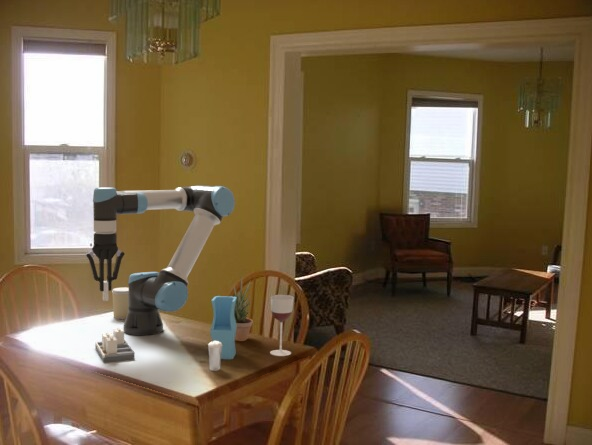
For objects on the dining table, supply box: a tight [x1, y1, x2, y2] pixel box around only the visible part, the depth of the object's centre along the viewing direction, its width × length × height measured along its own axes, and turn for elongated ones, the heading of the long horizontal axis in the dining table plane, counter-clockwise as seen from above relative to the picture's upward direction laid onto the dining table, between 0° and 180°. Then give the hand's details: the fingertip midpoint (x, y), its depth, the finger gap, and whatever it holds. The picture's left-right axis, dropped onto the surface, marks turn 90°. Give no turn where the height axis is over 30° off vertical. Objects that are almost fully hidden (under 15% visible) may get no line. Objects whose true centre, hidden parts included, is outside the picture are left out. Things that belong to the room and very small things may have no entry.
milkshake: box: [205, 339, 222, 372], centre depth 199 cm, size 5×5×10 cm
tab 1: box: [101, 332, 113, 350], centre depth 211 cm, size 3×4×5 cm
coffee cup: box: [111, 286, 129, 320], centre depth 265 cm, size 9×9×12 cm
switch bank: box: [94, 339, 135, 363], centre depth 213 cm, size 10×17×2 cm, turn 26°
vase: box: [209, 295, 237, 360], centre depth 214 cm, size 8×8×20 cm
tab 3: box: [112, 327, 125, 344], centre depth 218 cm, size 3×4×5 cm
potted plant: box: [230, 276, 254, 342], centre depth 236 cm, size 10×10×25 cm
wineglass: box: [269, 294, 295, 357], centre depth 219 cm, size 8×9×20 cm
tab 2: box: [106, 336, 117, 354], centre depth 207 cm, size 3×4×5 cm
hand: (105, 300), depth 215 cm, fingers closed
